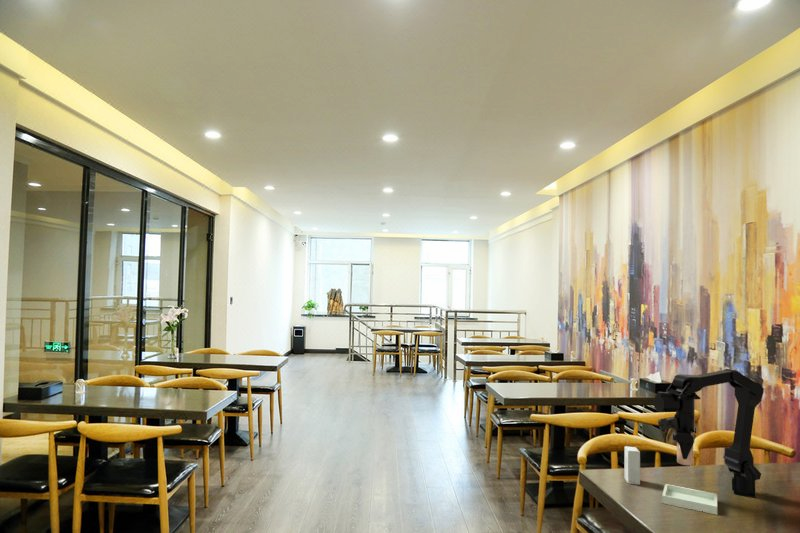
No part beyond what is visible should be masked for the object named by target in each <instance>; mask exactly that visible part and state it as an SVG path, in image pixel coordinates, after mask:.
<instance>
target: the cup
mask: <svg viewBox="0 0 800 533" xmlns="http://www.w3.org/2000/svg"><path fill="white" fill-rule="evenodd" d="M676 462H677V464H680V465H684V466H694V445H693V446H692V448H691V451H690V453H689V455H688V457H687V459H683V457H682V453H681V449H680V445H679V443H678V442H677V441H676Z"/></svg>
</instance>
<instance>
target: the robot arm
mask: <svg viewBox="0 0 800 533" xmlns="http://www.w3.org/2000/svg"><path fill="white" fill-rule="evenodd" d="M726 383H728V384H729V386H730V387H732V388H733V390H734V397H735V399H736V401H737V412H736V419H735V424H734V426H735V427H734V433H733V440H732V442H733V443H732V444H731V445H730V446H729V447H726V446H725V448H724V454H723V456H722V457H723V459H724V463H725V465H726V466H727V469H728V472H730V473H732V474H733V476H731V491H733V494H734V495H739V496H743V497H749V498H754V499H756V498H757V494H756V481H757V480H758V481H759V480H760V479H761V477H762V473H761V472H760V471H759V470H758V469H757V468H756V466H755V464H754V461H755V460H754V456H753V454H752V451H751V441H752V435H753V434H752V433H753V426H754V419H755V409H756V407H758V405H759V404H760V403H761V402H762V399H763V396H764V392H765V391H764V386H762V384H761V383H759V382H756V381H754V380H753V379H751V378H750V377H748V376H746V375H743V374H742V373H741V371H738V370H737V369H731V368H725V369H723V370H718V371H717V370H716V371H712V372H706V373H701V374H676V375H675V376H673V379H672V381H671V383H670V384H669V385H668V387H667V388H666V391H657V395H655V396H654V399H653V402H652V403H653V404H652V405H653V407H654V409H655V411H656V412H658V413H675V414H674V416H670V417H664V418H660V419H658V420H657V425H658V427H659V429H660V431H665V430H670V429H674V430H675V431H673V434H672V440H673V441H675V442H676V443H677V442H678V443H679V445H680V449H681V453H682V457H683V459H687V457H688V455H689V453H690V451H691V448H692V446H693V447H694V444H695V441H696V440H695V439H696V437H697V435H696V434H697V432H698V427H697V426H696V423H695V420H696V415H695V400H701V397H700V396H699V395H698V394H697V392H700V391H701V390H702V389H704V388H706V387H711V386H716V385H721V384H726Z"/></svg>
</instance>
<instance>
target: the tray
mask: <svg viewBox="0 0 800 533" xmlns="http://www.w3.org/2000/svg"><path fill="white" fill-rule="evenodd" d="M661 503H662V504H665V505H670V506H674V507H679V508H684V509H688V510H692V511H693V510H694V511H698V512H702V511H703V512H702V513H707V514H712V515H718V493H716V492H715V493H714V492H709V491H704V490H700V489H694V488H688V487H683V486H678V485H673V484H668V483H664V487H663V491H662V495H661Z"/></svg>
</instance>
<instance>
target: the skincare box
mask: <svg viewBox="0 0 800 533" xmlns="http://www.w3.org/2000/svg"><path fill="white" fill-rule="evenodd" d="M623 475H624V476H623V477H624V480H625V481H626V483H627V484H630V485H638V486H640V485H641V452H640V450H639V449H638V448H637V446H636V447H635V446H627V445H625V446H624V474H623Z"/></svg>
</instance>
